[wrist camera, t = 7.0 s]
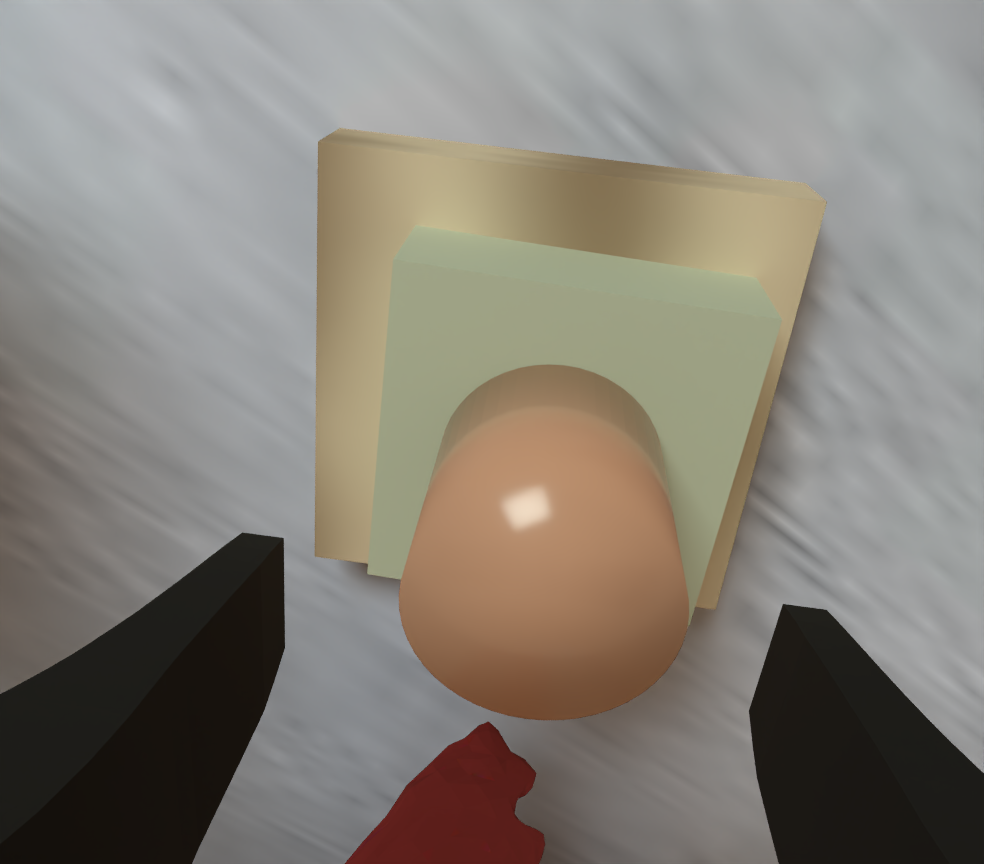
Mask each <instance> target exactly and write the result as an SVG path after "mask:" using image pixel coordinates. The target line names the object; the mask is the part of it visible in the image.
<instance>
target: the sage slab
mask: <svg viewBox="0 0 984 864" xmlns="http://www.w3.org/2000/svg"><path fill="white" fill-rule="evenodd" d="M781 322H782V319H781V317H780V315H779V314H778V312H777V310H776V309H775V307H774V305H773V304H772V302H771V301H770V299H769V297H768V296H767V294H766V292H765V291H764V289H763V288H762V286H761V284H760V283H759V281H758V279H757V278H755V277H748V276H742V275H735V274H729V273H722V272H716V271H709V270H703V269H697V268H690V267H684V266H677V265H671V264H664V263H658V262H651V261H645V260H638V259H632V258H625V257H619V256H612V255H606V254H599V253H593V252H586V251H580V250H574V249H567V248H561V247H554V246H548V245H541V244H535V243H528V242H522V241H515V240H509V239H502V238H496V237H489V236H483V235H476V234H470V233H463V232H457V231H451V230H444V229H438V228H431V227H425V226H418V225H415V227H414V229H413V230H412V232H411V233H410V235H409V236H408V238H407V239H406V241H405V242H404V244H403V245H402V247H401V248H400V250H399V251H398V253H397V254H396V256H395V257H394V259H393V267H392V280H391V292H390V304H389V316H388V328H387V340H386V352H385V364H384V376H383V388H382V401H381V413H380V425H379V437H378V449H377V461H376V473H375V485H374V497H373V509H372V522H371V534H370V546H369V558H368V570H367V574H369V575H376V576H382V577H388V578H394V579H401V578H402V575H403V571H404V568H405V564H406V561H407V557H408V554H409V551H410V547H411V544H412V540H413V537H414V533H415V530H416V527H417V523H418V520H419V516H420V513H421V509H422V506H423V503H424V499H425V496H426V492H427V489H428V485H429V482H430V479H431V475H432V472H433V468H434V465H435V461H436V458H437V455H438V451H439V448H440V444H441V441H442V438H443V434H444V431H445V428H446V426H447V424H448V422H449V420H450V418H451V416H452V415H453V413H454V412H455V410H456V409H457V407H458V406H459V405H460V404H461V403H462V401H463V400H464V399H465V398H466V397H467V396H468V395H469V394H470V393H471V392H473V391H474V390H475V389H476V388H477V387H479V386H480V385H482V384H483V383H485V382H487V381H488V380H490V379H492V378H494V377H496V376H498V375H500V374H502V373H505V372H508V371H511V370H514V369H517V368H522V367H527V366H533V365H547V364H550V365H565V366H571V367H576V368H581V369H584V370H587V371H591V372H594V373H596V374H598V375H601V376H603V377H605V378H607V379H609V380H611V381H612V382H614V383H616V384H617V385H619V386H620V387H622V388H623V389H624V390H625V391H627V392H628V393H629V394H630V395H632V396H633V397H634V398H635V400H636V401H637V402H638V403H639V404H640V405H641V406H642V407H643V409H644V410H645V411H646V413H647V414H648V416H649V417H650V419H651V421H652V423H653V425H654V427H655V429H656V431H657V434H658V437H659V440H660V444H661V449H662V455H663V460H664V466H665V471H666V477H667V482H668V488H669V493H670V499H671V504H672V510H673V515H674V521H675V526H676V532H677V537H678V543H679V548H680V554H681V559H682V565H683V570H684V576H685V581H686V587H687V592H688V598H689V620H688V626H690V622H691V619H692V616H693V612H694V609H695V606H696V602H697V599H698V596H699V593H700V589H701V586H702V583H703V579H704V576H705V573H706V569H707V566H708V563H709V560H710V556H711V553H712V550H713V546H714V543H715V540H716V536H717V533H718V530H719V527H720V523H721V520H722V517H723V513H724V510H725V507H726V503H727V500H728V497H729V494H730V490H731V487H732V484H733V480H734V477H735V474H736V470H737V467H738V464H739V461H740V457H741V454H742V451H743V447H744V444H745V441H746V438H747V434H748V431H749V428H750V424H751V421H752V418H753V414H754V411H755V408H756V405H757V401H758V398H759V395H760V391H761V388H762V385H763V381H764V378H765V375H766V372H767V368H768V365H769V362H770V358H771V355H772V352H773V348H774V345H775V342H776V339H777V335H778V332H779V329H780V325H781Z"/></svg>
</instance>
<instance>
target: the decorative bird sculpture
mask: <svg viewBox="0 0 984 864" xmlns="http://www.w3.org/2000/svg"><path fill="white" fill-rule="evenodd" d="M535 777H536V772H535V771H534V770H533V769H532V767H531V766H530V765H529V764H528V763H527V762H526V760H525V759H523V758H521V757H520V756H518V755H516V754H514V753H512V752H511V751H510V750H509V748H508V746H507V744H506V743H505V741H504V739H503V738H502V736H501V734H500V733H499V731H498V730H497V729H496V728H495V727H494V726H493V725H492V724H491V723H490V722H486V723H484V724H481V725H479V726H478V727H477V728H476V729H474V730H473V731H472V732H471V733H470V734H469V735H468V736H467V737H465V738H464V739H462V740H459V741H457V742H455V743H453V744H451V745H449V746H448V747H447V748H445V749H444V750H443V751H442V752H441V753H440V754H439V755H438V756H437V757H436V758H435V759H434V760H433V761H432V762H431V763H430V764H429V765H428V766H427V767H426V768H425V769H424V770H423V771H421V772H420V773H419V774H418V775H417V776H416V777H415V778H414V779H413V780H412V781H411V782H410V783H409V784H408V785H407V786H406V787H405V789H404V790H403V792H402V793H401V795H400V796H399V798H398V799H397V801H396V802H395V804H394V805H393V807H392V808H391V810H390V811H389V813H388V814H387V816H386V817H385V818H384V819H383V820H382V821H381V822H380V823H379V825H378V826H377V827H376V828H375V829H374V830H373V831H372V832H371V833H370V834H369V836H368V837H367V838H366V839H365V840H364V841H363V842H362V843H361V845H360V846H359V847H358V848H357V850H356V851H355V852H354V853H353V854H352V856H351V857H350V858H349V859H348V860H347V862H346V863H345V864H539V862H540V860H541V858H542V854H543V850H544V846H545V841H544V835H543V834H542V833H541V832H540V831H538V830H536V829H534V828H532V827H530V826H527V825H525V824H523V823H522V822H521V821H519V820H518V818H517V817H516V815H515V814H514V812H515V807H516V802H517V800H518V798H520V797H523V796H525V795H526V794H527V793H528V792H529V791H530V790H531V789H532V787H533V784H534V780H535Z"/></svg>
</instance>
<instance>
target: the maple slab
mask: <svg viewBox="0 0 984 864" xmlns="http://www.w3.org/2000/svg"><path fill="white" fill-rule="evenodd" d="M826 204H827V202H826V201H825V200H824V199H823V198H822V197H821V196H820V195H818V194H817V193H816V192H815V191H814V190H813V189H811V188H810V187H809V186H808V185H807V184H806V183H799V182H791V181H782V180H774V179H766V178H757V177H749V176H740V175H732V174H723V173H715V172H706V171H698V170H690V169H681V168H673V167H664V166H656V165H647V164H639V163H631V162H622V161H614V160H605V159H597V158H588V157H580V156H571V155H563V154H555V153H546V152H538V151H529V150H521V149H512V148H504V147H496V146H487V145H479V144H470V143H462V142H453V141H445V140H436V139H428V138H420V137H411V136H403V135H394V134H386V133H377V132H369V131H361V130H352V129H344V128H339V129H338V130H336V131H334V132H333V133H331V134H330V135H328V136H326V137H325V138H323V139H321V140H320V141H318V215H317V339H316V463H315V557H323V558H330V559H338V560H345V561H353V562H360V563H368V558H369V546H370V534H371V522H372V509H373V497H374V485H375V473H376V461H377V449H378V437H379V425H380V413H381V401H382V388H383V376H384V364H385V352H386V340H387V328H388V316H389V304H390V292H391V280H392V267H393V259H394V257H395V256H396V254H397V253H398V251H399V250H400V248H401V247H402V245H403V244H404V242H405V241H406V239H407V238H408V236H409V235H410V233H411V232H412V230H413V229H414V227H415V225H418V226H425V227H431V228H438V229H444V230H451V231H457V232H463V233H470V234H476V235H483V236H489V237H496V238H502V239H509V240H515V241H522V242H528V243H535V244H541V245H548V246H554V247H561V248H567V249H574V250H580V251H586V252H593V253H599V254H606V255H612V256H619V257H625V258H632V259H638V260H645V261H651V262H658V263H664V264H671V265H677V266H684V267H690V268H697V269H703V270H709V271H716V272H722V273H729V274H735V275H742V276H748V277H755V278H757V279H758V281H759V283H760V284H761V286H762V288H763V289H764V291H765V292H766V294H767V296H768V297H769V299H770V301H771V302H772V304H773V305H774V307H775V309H776V310H777V312H778V314H779V315H780V317H781V319H782V322H781V325H780V329H779V332H778V335H777V339H776V342H775V345H774V348H773V352H772V355H771V358H770V362H769V365H768V368H767V372H766V375H765V378H764V381H763V385H762V388H761V391H760V395H759V398H758V401H757V405H756V408H755V411H754V414H753V418H752V421H751V424H750V428H749V431H748V434H747V438H746V441H745V444H744V447H743V451H742V454H741V457H740V461H739V464H738V467H737V470H736V474H735V477H734V480H733V484H732V487H731V490H730V494H729V497H728V500H727V503H726V507H725V510H724V513H723V517H722V520H721V523H720V527H719V530H718V533H717V536H716V540H715V543H714V546H713V550H712V553H711V556H710V560H709V563H708V566H707V569H706V573H705V576H704V579H703V583H702V586H701V589H700V593H699V596H698V599H697V602H696V606H695V607H699V608H707V609H714V610H715V609H716V606H717V602H718V598H719V595H720V591H721V587H722V584H723V580H724V576H725V573H726V569H727V566H728V562H729V558H730V555H731V551H732V547H733V544H734V540H735V536H736V533H737V529H738V525H739V522H740V518H741V514H742V511H743V507H744V503H745V500H746V496H747V492H748V489H749V485H750V481H751V478H752V474H753V471H754V467H755V463H756V460H757V456H758V452H759V449H760V445H761V441H762V438H763V434H764V430H765V427H766V423H767V419H768V416H769V412H770V408H771V405H772V401H773V397H774V394H775V390H776V386H777V383H778V379H779V375H780V372H781V368H782V365H783V361H784V357H785V354H786V350H787V346H788V343H789V339H790V335H791V332H792V328H793V324H794V321H795V317H796V313H797V310H798V306H799V302H800V299H801V295H802V291H803V288H804V284H805V280H806V277H807V273H808V269H809V266H810V262H811V259H812V255H813V251H814V248H815V244H816V240H817V237H818V233H819V229H820V226H821V222H822V218H823V215H824V211H825V207H826Z"/></svg>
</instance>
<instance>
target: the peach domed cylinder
mask: <svg viewBox="0 0 984 864" xmlns="http://www.w3.org/2000/svg"><path fill="white" fill-rule="evenodd" d="M399 611H400V616H401V621H402V626H403V628H404V631H405V634H406V637H407V639H408V641H409V643H410V645H411V647H412V649H413V651H414V653H415V654H416V655H417V657H418V658H419V660H420V661H421V662H422V664H423V665H424V666H425V667H426V668H427V669H428V670H429V672H430V673H431V674H432V675H433V676H434V677H435V678H436V679H438V680H439V681H440V682H441V683H442V684H444V685H445V686H446V687H447V688H449V689H450V690H452V691H453V692H455V693H456V694H458V695H459V696H461V697H462V698H464V699H466V700H468V701H470V702H472V703H474V704H476V705H478V706H481V707H483V708H486V709H489V710H491V711H494V712H498V713H501V714H505V715H508V716H513V717H519V718H524V719H535V720H566V719H575V718H581V717H586V716H591V715H595V714H598V713H602V712H605V711H608V710H611V709H613V708H615V707H618V706H620V705H622V704H624V703H626V702H628V701H630V700H632V699H633V698H635V697H637V696H638V695H640V694H642V693H643V692H644V691H645V690H647V689H648V688H649V687H650V686H652V685H653V684H654V683H655V682H656V681H657V680H658V679H659V678H660V677H661V676H662V675H663V674H664V673H665V672H666V671H667V669H668V668H669V667H670V665H671V664H672V662H673V661H674V660H675V658H676V656H677V654H678V652H679V650H680V648H681V646H682V644H683V641H684V638H685V635H686V632H687V626H688V620H689V598H688V592H687V587H686V581H685V576H684V570H683V565H682V559H681V554H680V548H679V543H678V537H677V532H676V526H675V521H674V515H673V510H672V504H671V499H670V493H669V488H668V482H667V477H666V471H665V466H664V460H663V455H662V449H661V444H660V440H659V437H658V434H657V431H656V429H655V427H654V425H653V423H652V421H651V419H650V417H649V416H648V414H647V413H646V411H645V410H644V409H643V407H642V406H641V405H640V404H639V403H638V402H637V401H636V400H635V398H634V397H633V396H632V395H630V394H629V393H628V392H627V391H625V390H624V389H623V388H622V387H620V386H619V385H617V384H616V383H614V382H612V381H611V380H609V379H607V378H605V377H603V376H601V375H598V374H596V373H594V372H591V371H587V370H584V369H581V368H576V367H571V366H565V365H550V364H547V365H533V366H527V367H522V368H517V369H514V370H511V371H508V372H505V373H502V374H500V375H498V376H496V377H494V378H492V379H490V380H488V381H487V382H485V383H483V384H482V385H480V386H479V387H477V388H476V389H475V390H474V391H473V392H471V393H470V394H469V395H468V396H467V397H466V398H465V399H464V400H463V401H462V403H461V404H460V405H459V406H458V407H457V409H456V410H455V412H454V413H453V415H452V416H451V418H450V420H449V422H448V424H447V426H446V428H445V431H444V434H443V438H442V441H441V444H440V448H439V451H438V455H437V458H436V461H435V465H434V468H433V472H432V475H431V479H430V482H429V485H428V489H427V492H426V496H425V499H424V503H423V506H422V509H421V513H420V516H419V520H418V523H417V527H416V530H415V533H414V537H413V540H412V544H411V547H410V551H409V554H408V557H407V561H406V564H405V568H404V571H403V575H402V578H401V583H400V591H399Z"/></svg>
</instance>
